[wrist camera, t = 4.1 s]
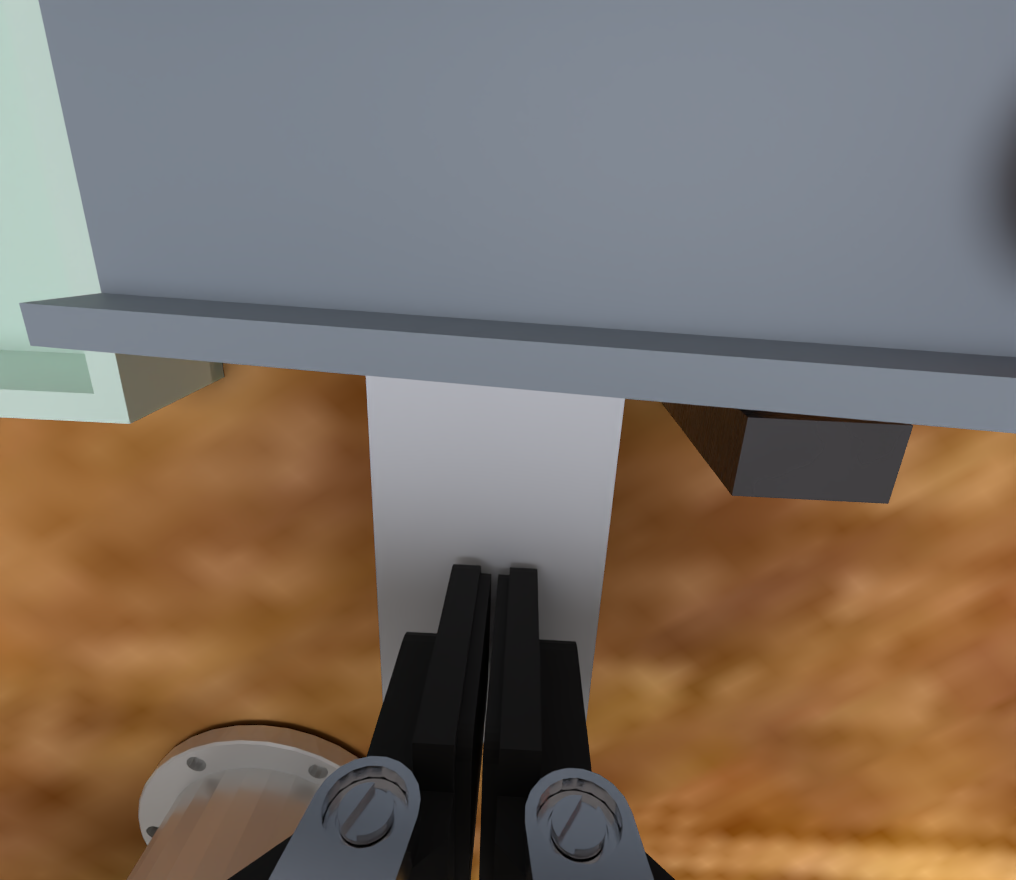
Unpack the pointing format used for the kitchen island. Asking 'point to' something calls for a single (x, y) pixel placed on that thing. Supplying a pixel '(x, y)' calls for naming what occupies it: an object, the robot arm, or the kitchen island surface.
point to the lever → (548, 235)
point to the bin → (57, 255)
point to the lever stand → (796, 452)
